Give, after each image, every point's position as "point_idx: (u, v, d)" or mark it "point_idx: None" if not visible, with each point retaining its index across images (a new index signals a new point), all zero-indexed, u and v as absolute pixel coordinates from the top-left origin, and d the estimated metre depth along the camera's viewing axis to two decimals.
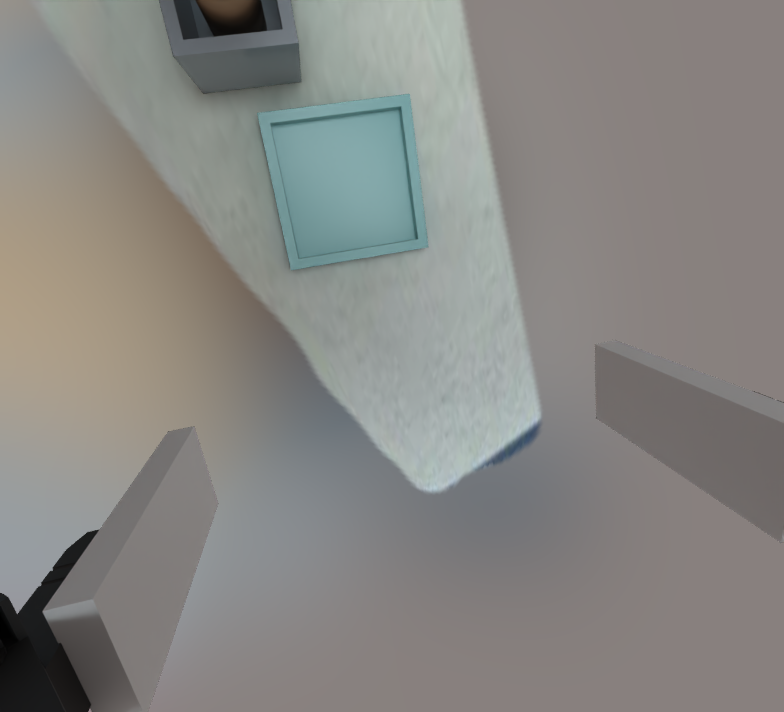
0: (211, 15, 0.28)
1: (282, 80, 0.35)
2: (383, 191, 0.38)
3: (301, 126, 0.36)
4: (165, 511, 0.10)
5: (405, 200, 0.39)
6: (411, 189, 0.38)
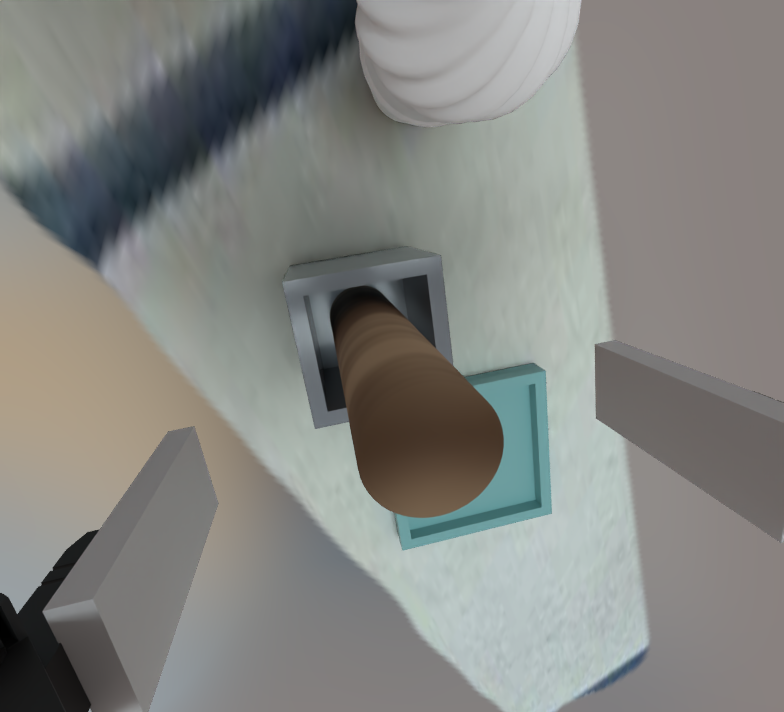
0: None
1: None
2: (505, 458, 0.34)
3: None
4: (165, 511, 0.10)
5: (527, 464, 0.35)
6: (537, 459, 0.34)
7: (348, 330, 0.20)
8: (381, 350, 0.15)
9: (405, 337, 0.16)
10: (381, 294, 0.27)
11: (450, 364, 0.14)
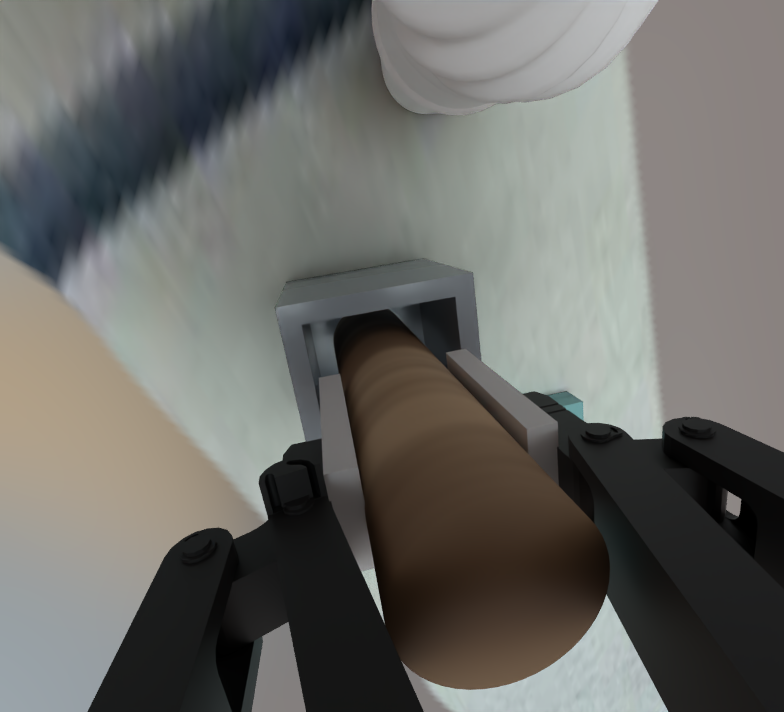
0: None
1: None
2: None
3: None
4: (350, 429, 0.13)
5: None
6: None
7: (359, 370, 0.15)
8: (411, 414, 0.10)
9: (441, 391, 0.11)
10: (395, 316, 0.22)
11: (512, 439, 0.10)
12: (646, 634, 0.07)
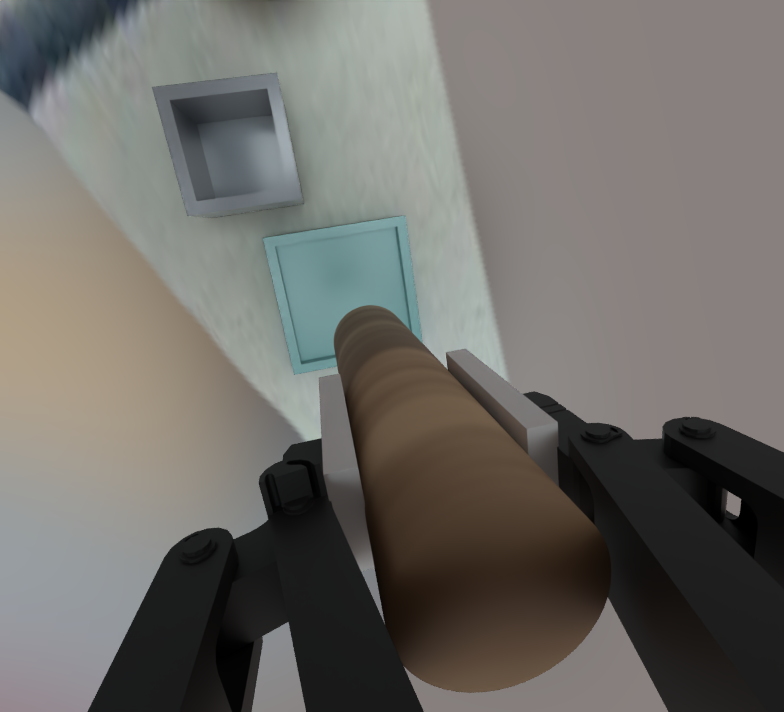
0: None
1: (286, 206, 0.37)
2: (381, 299, 0.41)
3: (304, 245, 0.38)
4: None
5: (401, 306, 0.41)
6: (407, 298, 0.40)
7: (359, 371, 0.15)
8: (411, 416, 0.10)
9: (441, 393, 0.11)
10: (395, 317, 0.22)
11: (513, 440, 0.10)
12: (646, 634, 0.07)
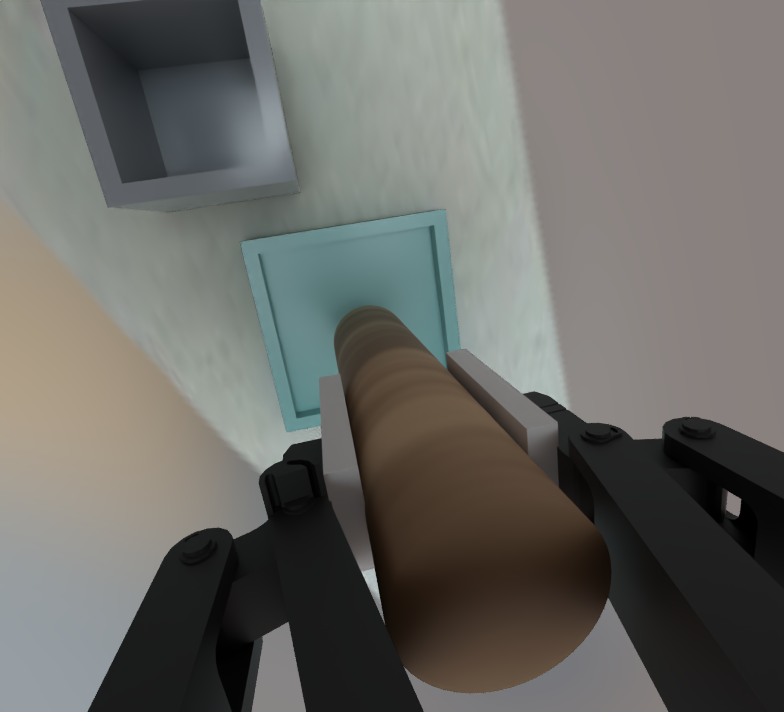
0: None
1: (275, 195, 0.26)
2: (407, 326, 0.29)
3: (300, 251, 0.27)
4: None
5: (436, 336, 0.30)
6: (444, 325, 0.29)
7: (359, 371, 0.15)
8: (411, 416, 0.10)
9: (441, 393, 0.11)
10: (395, 317, 0.22)
11: (513, 441, 0.10)
12: (646, 634, 0.07)
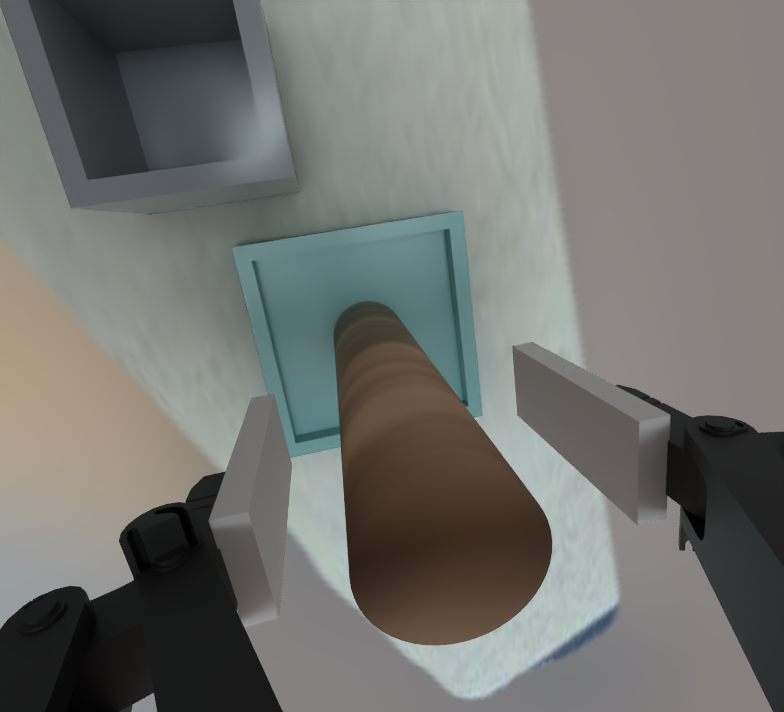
0: None
1: (271, 195, 0.23)
2: (419, 340, 0.26)
3: (299, 258, 0.24)
4: (269, 459, 0.12)
5: (450, 351, 0.27)
6: (460, 340, 0.26)
7: (350, 363, 0.16)
8: (387, 404, 0.11)
9: (418, 383, 0.12)
10: (391, 313, 0.23)
11: (476, 427, 0.11)
12: (753, 627, 0.07)
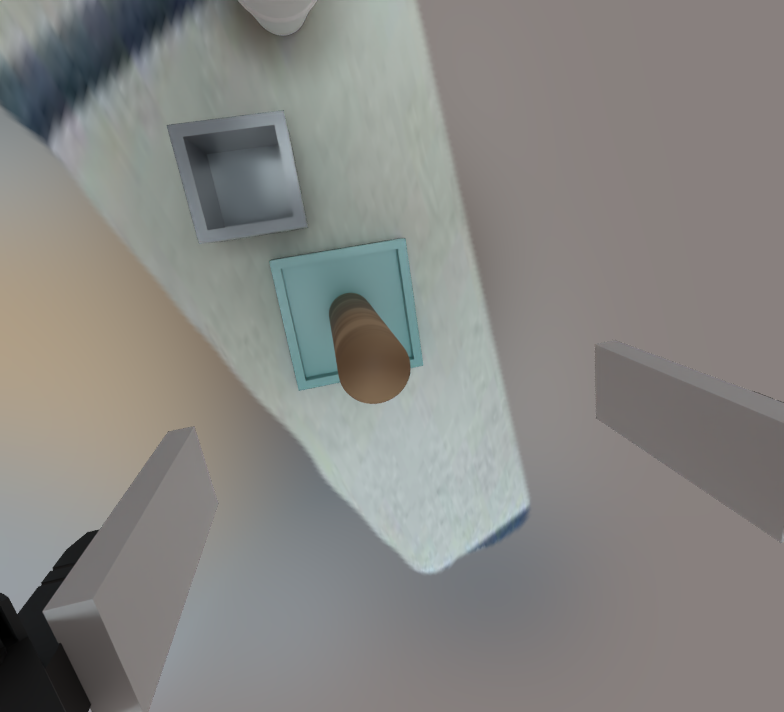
0: None
1: None
2: (382, 317, 0.42)
3: (308, 267, 0.40)
4: (164, 511, 0.10)
5: (402, 324, 0.43)
6: (407, 317, 0.42)
7: (338, 318, 0.32)
8: (353, 324, 0.27)
9: (368, 318, 0.29)
10: (363, 298, 0.39)
11: (388, 330, 0.27)
12: None
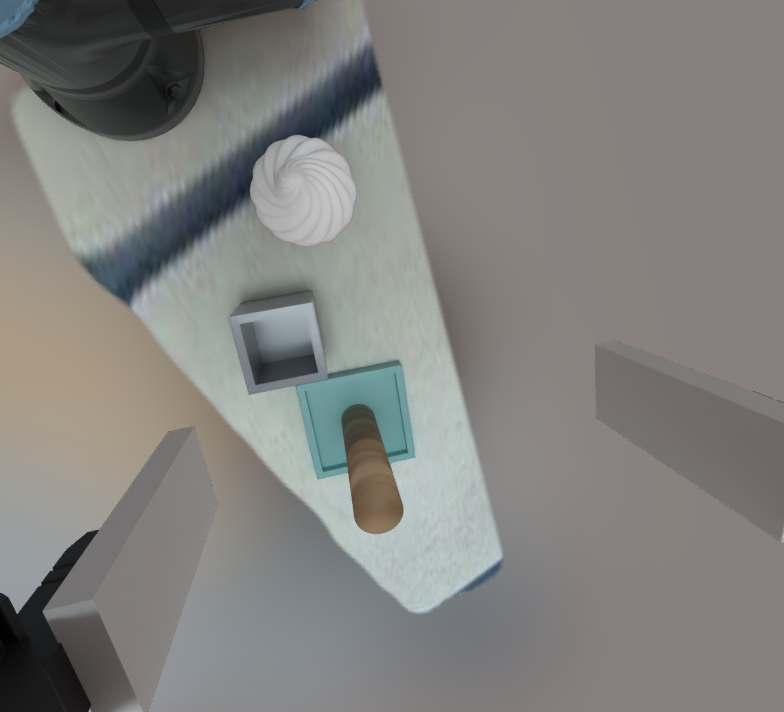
0: None
1: None
2: (383, 421, 0.54)
3: (325, 386, 0.51)
4: (165, 511, 0.10)
5: (398, 425, 0.54)
6: (402, 421, 0.53)
7: (351, 447, 0.44)
8: (363, 469, 0.39)
9: (373, 461, 0.40)
10: (368, 412, 0.51)
11: (388, 477, 0.38)
12: None
